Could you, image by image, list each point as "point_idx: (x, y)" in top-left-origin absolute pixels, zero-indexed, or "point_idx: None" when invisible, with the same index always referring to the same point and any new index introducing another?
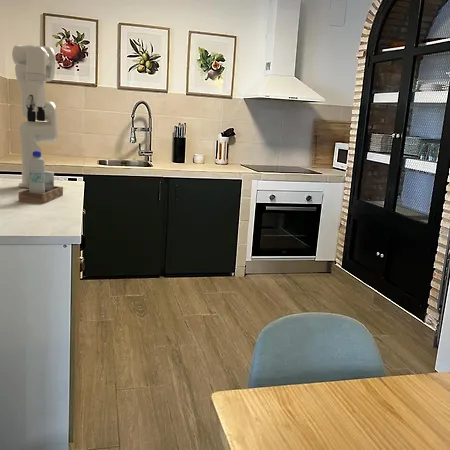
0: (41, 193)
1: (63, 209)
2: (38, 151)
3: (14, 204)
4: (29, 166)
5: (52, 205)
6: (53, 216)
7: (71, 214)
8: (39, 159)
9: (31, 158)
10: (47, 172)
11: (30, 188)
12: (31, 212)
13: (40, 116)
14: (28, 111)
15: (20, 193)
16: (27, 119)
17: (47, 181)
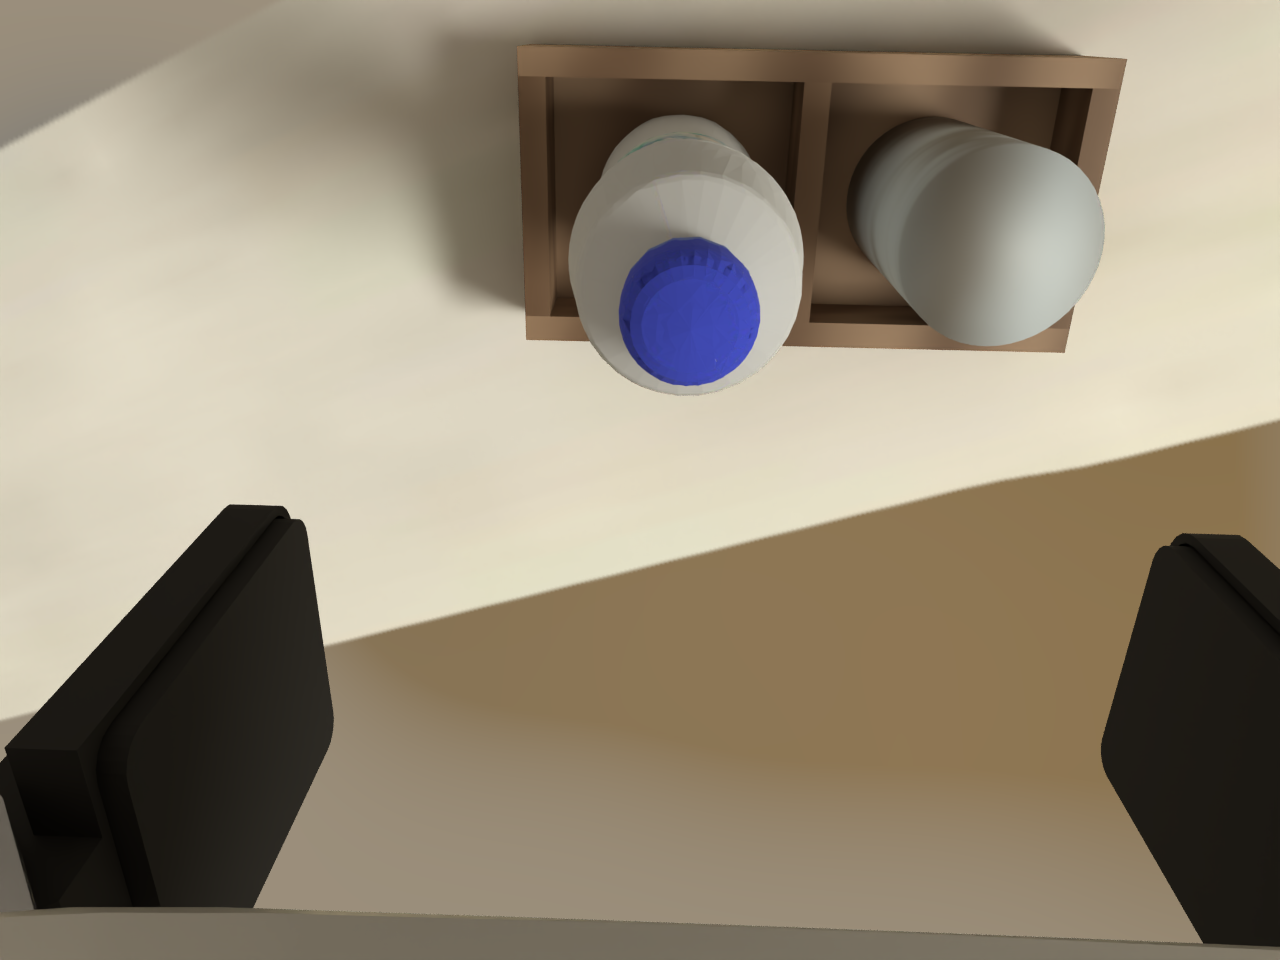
0: (541, 301)
1: (363, 525)
2: (680, 359)
3: (371, 71)
4: (595, 186)
5: (482, 401)
6: (89, 537)
7: None
8: (609, 361)
9: (608, 234)
10: (959, 280)
11: (614, 155)
12: (127, 350)
13: (1211, 763)
14: (33, 789)
15: (520, 70)
16: (212, 524)
17: (882, 270)
